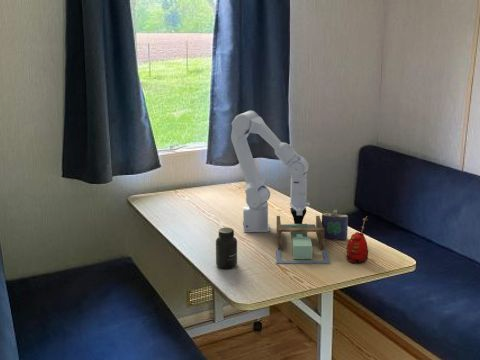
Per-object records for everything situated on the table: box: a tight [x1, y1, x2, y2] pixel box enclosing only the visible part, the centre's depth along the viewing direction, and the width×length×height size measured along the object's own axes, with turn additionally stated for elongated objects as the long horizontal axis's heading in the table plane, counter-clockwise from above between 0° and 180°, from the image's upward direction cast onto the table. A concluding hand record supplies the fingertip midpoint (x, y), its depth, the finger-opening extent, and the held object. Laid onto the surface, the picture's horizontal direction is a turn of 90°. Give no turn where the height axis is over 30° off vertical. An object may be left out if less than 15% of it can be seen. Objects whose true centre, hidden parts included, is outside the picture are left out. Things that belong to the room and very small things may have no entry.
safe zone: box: [275, 249, 331, 265], centre depth 176 cm, size 17×10×1 cm, turn 88°
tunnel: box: [276, 215, 325, 251], centre depth 188 cm, size 16×16×7 cm
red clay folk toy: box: [345, 216, 369, 264], centre depth 171 cm, size 8×7×15 cm
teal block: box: [289, 223, 313, 260], centre depth 183 cm, size 6×20×5 cm, turn 178°
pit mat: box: [281, 223, 316, 228], centre depth 201 cm, size 14×6×1 cm, turn 88°
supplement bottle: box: [215, 227, 238, 270], centre depth 169 cm, size 7×7×12 cm
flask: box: [321, 209, 349, 241], centre depth 189 cm, size 9×3×11 cm, turn 74°
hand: (298, 227), depth 195 cm, fingers closed
